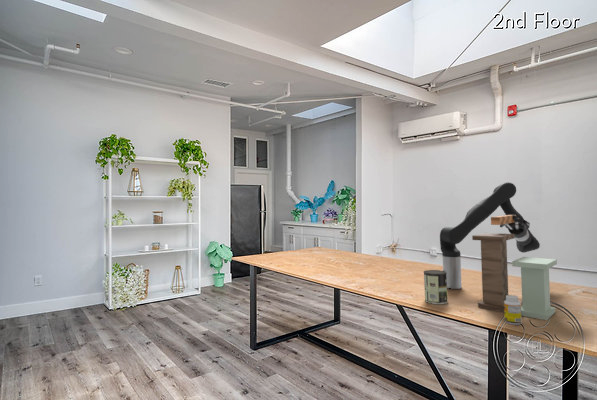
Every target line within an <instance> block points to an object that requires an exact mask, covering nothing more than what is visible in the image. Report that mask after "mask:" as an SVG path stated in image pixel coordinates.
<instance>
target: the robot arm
mask: <svg viewBox="0 0 597 400" xmlns="http://www.w3.org/2000/svg"><path fill="white" fill-rule="evenodd" d="M516 193H517V187H516V185H515V184H514V183H512V182H503V183H501V184H499V185H498V186H496V187H495V188H494V190H493V192H492V193H491V194H490V195H489V196H487V197H486V198H484V199H482V200H481V201H479V202H478V203H475V205H474V206H472V207H471V208H470V209H469V210H468V211H467V212H466V215H465V218H464V219H463V221H461V222H459V224H457V225H456V226H454V227H453V226H445V227H443V228H441V230H440V232H439V243H440V244H439V245H440V251H441V254H442V271H445V272H447V274H446V276H447V289H449V288H451V290H459V289H462V286H463V284H462V260H461V259H462V258H461V256H462V255H461V251H460V250H459V249H458V248H457V246H456V245H458V244H460V243H461V242H462V241H464V239H465V238H466V237H467V236H468V235H469V234H470V233H471V232H472V231H473V230H474V229H475V228H477V227H478V226H479V225H480V224H481V223H482V222H484V221H486V219H488V217H491V215H492V214H493V213H494V212H496V211H497V209H498V208H499V207H500V208H501V210H502V211H503V213H504V214H503V215H502V216H504V215H513V217H512V219H513V220H514V223H508V224H502V225H499V228H503V227H504V228H506V229H507V230H508V232H509V234H514V239H515V241H516V242H515V244H516V249H517V250H518V251H519V252H520V253H529V252H532V251H536V250H538V249H539V248H540V247H541V246H540V245H541V243H540V242H539V240H538V239H537V237H536V236H534V234H533V233H532V232H531V230H530V225H531V224H530V222H529V221H527V220H526V219H525V218H524V217H523V216H522V215H521V214H520V212H518V211H517V210H516V208H514V206H513V204H512V202H511V201H512V200H511V198H514V197H515V195H516ZM515 215H516V216H515Z"/></svg>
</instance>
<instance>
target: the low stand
mask: <svg viewBox="0 0 597 400" xmlns="http://www.w3.org/2000/svg"><path fill="white" fill-rule="evenodd" d="M557 261H558V259H557V258H556V259H555V258H543V257H542V258H541V257H531V256H530V257H529V256H522V257H520V258H517V259H515V260H512V261H511V265H512V267H517V268H520V277H521V278H520V279H521V282H520V283H521V317H522V316H523V317H527V318H532V319H538V320H544V321H548V320H549V319H550V318H551V317H552V316H553V315H554V314H555V313H556V307H554V306H551V293H550V291H551V288H550V269H551V268H553V267H554V266H556V265H557V264H558V262H557Z"/></svg>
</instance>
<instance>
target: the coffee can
mask: <svg viewBox="0 0 597 400" xmlns="http://www.w3.org/2000/svg"><path fill="white" fill-rule="evenodd" d="M446 274H447V272H445V271H443V270H440V269H429V270H428V269H426V270H424V271H423V279H424V280H423V281H424V282H423V284H424V302H425V301H426V302H425V303H427V302H428V303H427V304H431V303H432V304H433V305H445V304H448V303H449V302H448V288H447V276H446ZM432 304H431V305H432Z"/></svg>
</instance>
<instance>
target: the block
mask: <svg viewBox="0 0 597 400" xmlns="http://www.w3.org/2000/svg"><path fill="white" fill-rule="evenodd" d="M503 215H504V216H503ZM503 215H497V216H490V225H492V226H500V225H502V224H508V223H514V220H513V219H512V217H513V215H506V214H503ZM515 216H516V215H515Z"/></svg>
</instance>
